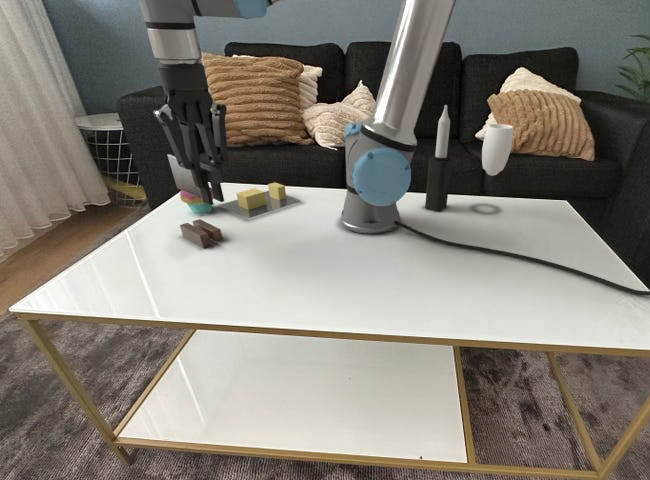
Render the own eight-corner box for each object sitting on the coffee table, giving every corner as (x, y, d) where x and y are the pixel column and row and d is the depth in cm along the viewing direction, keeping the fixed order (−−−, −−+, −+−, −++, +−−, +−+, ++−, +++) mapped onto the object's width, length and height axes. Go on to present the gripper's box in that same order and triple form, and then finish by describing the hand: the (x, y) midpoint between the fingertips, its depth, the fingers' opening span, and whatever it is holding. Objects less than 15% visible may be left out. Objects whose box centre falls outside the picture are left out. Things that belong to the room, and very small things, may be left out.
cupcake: (223, 207, 112) (212, 160, 105) (210, 218, 106) (197, 170, 98) (194, 205, 113) (180, 159, 105) (179, 217, 106) (164, 168, 99)
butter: (266, 204, 113) (264, 191, 111) (248, 210, 109) (245, 197, 107) (257, 200, 115) (254, 187, 113) (238, 206, 112) (236, 193, 109)
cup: (467, 207, 116) (479, 124, 102) (486, 202, 119) (500, 122, 105) (485, 215, 111) (500, 130, 98) (504, 210, 114) (521, 127, 101)
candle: (432, 203, 118) (441, 102, 102) (447, 206, 116) (460, 104, 100) (423, 208, 115) (431, 105, 98) (439, 212, 113) (450, 107, 96)
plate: (301, 203, 116) (301, 201, 116) (248, 220, 105) (247, 218, 105) (271, 191, 123) (271, 189, 122) (218, 207, 112) (218, 205, 112)
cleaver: (228, 208, 83) (220, 169, 78) (220, 210, 82) (211, 171, 77) (181, 186, 93) (171, 150, 88) (174, 188, 92) (163, 152, 87)
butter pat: (286, 198, 117) (284, 185, 115) (279, 200, 116) (277, 187, 113) (276, 194, 119) (275, 182, 117) (269, 196, 118) (267, 184, 116)
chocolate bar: (223, 241, 96) (220, 229, 94) (203, 248, 93) (199, 235, 91) (203, 230, 100) (199, 218, 98) (183, 237, 97) (179, 225, 95)
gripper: (207, 58, 75) (234, 189, 90) (124, 61, 66) (170, 206, 82) (230, 61, 71) (254, 197, 87) (146, 65, 63) (189, 215, 78)
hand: (213, 201), depth 84 cm, fingers closed on cleaver, 2 cm apart
